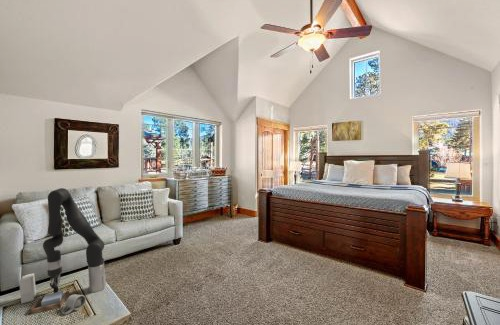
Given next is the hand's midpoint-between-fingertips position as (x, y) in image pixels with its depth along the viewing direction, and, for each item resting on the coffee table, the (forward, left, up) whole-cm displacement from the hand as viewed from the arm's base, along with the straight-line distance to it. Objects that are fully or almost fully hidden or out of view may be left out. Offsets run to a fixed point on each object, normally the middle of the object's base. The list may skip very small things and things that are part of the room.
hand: (56, 292), depth 155 cm
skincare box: (+15, -1, -2) cm, 15 cm away
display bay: (0, +11, -2) cm, 11 cm away
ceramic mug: (-16, +23, -2) cm, 28 cm away
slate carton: (-2, +11, -2) cm, 11 cm away
